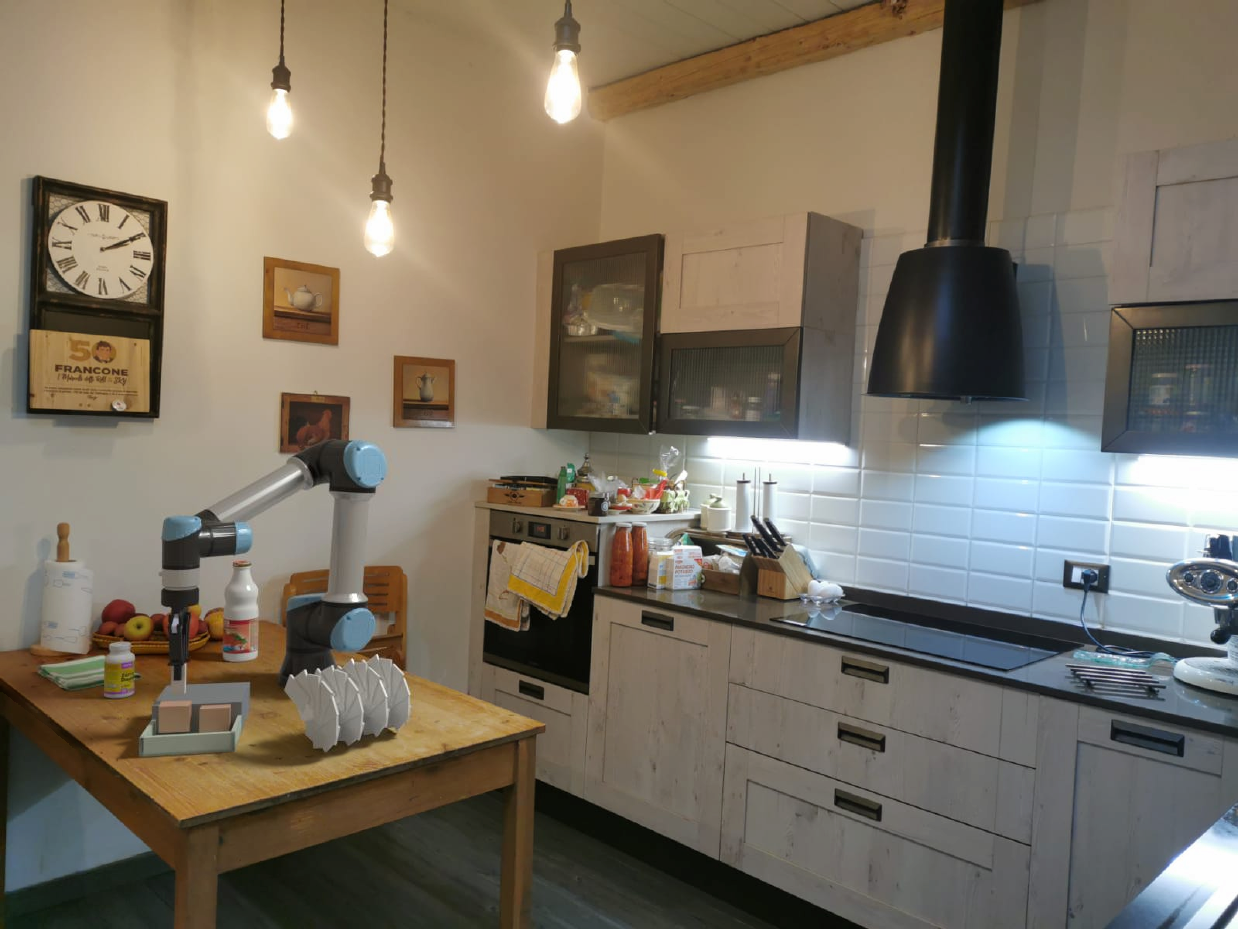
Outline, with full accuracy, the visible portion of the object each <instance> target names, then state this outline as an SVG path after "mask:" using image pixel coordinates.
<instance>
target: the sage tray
mask: <svg viewBox="0 0 1238 929" xmlns="http://www.w3.org/2000/svg"><path fill="white" fill-rule="evenodd" d="M241 718H242V715H238V716H237V718H236V721H235V723H234V725H233V728H232V730H231V731H228V732H210V733H184V734H166V735H156V720H152V719H151V720H150V722H149V723H148V724H147V726H146V728H145V729H144V730H143V732H142V734H141V735H140V737H139V738H138V739H139V740H138V758H152V757H164V756H165V757H169V756H182V755H184V756H185V755H197V754H198V755H201V754H216V753H217V754H218V753H228V752H229V753H234V752H235V751H236V748H237V746H238V742H239V740H240V738H241V734H242V732H241Z"/></svg>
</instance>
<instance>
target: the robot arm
mask: <svg viewBox="0 0 1238 929" xmlns="http://www.w3.org/2000/svg"><path fill="white" fill-rule="evenodd" d="M387 466H388V465H387V459H386V457H385V455H384V453H383V451H382V450H381V449H380V448H379V446H377V445H376V444H374V443H372V442H368V441H363V440H347V439H334V438H333V439H327V440H323V441H320V442H318V443H316V444H313V445H311V446H309V447H307V448H305V449H303V450H301V451H299V452H298V453H296V454H294V455H292V456H291V457H289V458H287V459H286V462H285V464H283V465H282V466H281V467H279V468H277V469H275V470H273V471H272V472H269V473H268V474H266V475H264V476H263V477H261V478H259V479H258V480H255V481H253V482H252V483H250V484H248V485H246V486H245V487H243V488H241V489H239V490H237V491H236V492H233V493H231V494H230V495H228V496H226V497H225V498H223V499H221V500H219V501H218V502H216V503H214V504H212V505H210V506H208V507H207V508H205V509H203V510H202V511H200V512H198V513H196V514H193V515H172V516H168V517H166V518H165V519H164V520H163V522H162V530H161V531H162V532H161V537H160V538H161V571H160V572H158V576H159V577H161V586H162V589H161V590H160V604H161V606H163V607H166V608H171V612H170V614H168V616H167V617H168V619H167V622H168V624H167V628H166V629H167V633H168V655H169V657H168V658H169V662H168V663H167V667H171V668H170V669H171V674H170V675H171V678H170V679H171V680H170V681H171V682H170V685H171V695H183V694H185V693H186V685H187V663H190V662H191V658H188V657H189V656H190V655H189V654H190V653H189V649H190V648H189V647H190V632H191V631H190V630H191V622H192V621H191V620H192V612H191V611H189V610H190V608H189V607H194V606H197V605H198V604H199V603H200V588H199V585H200V582H201V559H206V558H213V557H214V558H215V557H226V556H227V557H228V556H233V557H234V556H235V557H236V556H237V555H242V554H246V553H248V552H249V551H250V550H251V549H252V546H253V544H254V535H253V529H252V528H251V526H250V525H249V524H248V523H247V522H248V521H249V520H252V519H253V518H255V517H257V516H258V515H261V514H262V513H264V512H266V511H267V510H269V509H270V508H272V507H274V506H276V505H278V504H279V503H280V502H283V501H285V500H286V499H288V498H289V497H291V496H293V495H295V494H296V493H298V492H300V491H301V490H304V491H309V490H311V489H313V488H314V487H317V486H320V485H323V484H324V485H326V484H328V492H329V493H330V495H331V496H332V497H333V502H334V503H333V517H332V528H331V530H332V532H331V540H330V541H331V543H330V559H329V570H328V571H329V572H328V583H327V584H328V585H327V591H326V592H323V593H321V592H319V593H308V594H301V595H295V596H292V597H290V598H289V599H288V600H287V601H286V603H287V604H286V609H285V613H286V616H285V617H286V618H285V619H286V620H285V621H286V622H285V623H286V627H285V632H286V633H285V654H284V657H283V660H282V663H281V664H280V668H279V671H278V674H277V675H278V678H277V680H278V681H277V683H278V684H279V685H280V686H283V687H286V684H287V681H288V679H289V676H290V675H293V677H296V676H297V675H298V674H299V673H301V672H302V671H303V670H306V671H307V674H313V675H314V674H315V672H316V670H317V669H318V668H319V669H320V671H323V670H325V669H326V668H328V667H330V666H331V665H334V669H335V670H336V669H337V666H338V665H337V663H336V660H335V657H334V653H333V650H334V651H335V652H338V653H348V654H350V653H351V654H353V653H356V652H358V651H361V650H363V649H364V648H365V647H366V646H367V644H368V643H369V642H370V641H371V640H372V638H373V636H374V634H375V630H376V619H375V616H374V615H373V613H372V611H370V610H369V609H368V604H369V598H368V597H367V595H365V593H364V592H363V588H364V577H365V575H364V574H365V573H364V572H365V562H366V561H365V560H366V547H367V536H368V535H367V533H368V532H367V531H368V518H369V508H370V507H369V506H370V504H369V503H370V500H371V499H372V498H373V497H374V496H375V495H376V491H377V487H378V486H379V485H380V484H381V483H382V482H383V480H384V479H385V477H386V474H387V471H388V470H387V469H388V467H387Z"/></svg>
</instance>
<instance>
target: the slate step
mask: <svg viewBox="0 0 1238 929" xmlns="http://www.w3.org/2000/svg"><path fill="white" fill-rule="evenodd" d="M250 698H251V682H250V681H247V682H246V681H245V682H221V683H219V682H218V683H192V684H186V693H185V694H183V695H171V684H169V685H166V686H165V688H164V689H163V690H162V691H161V693H160V694H159V696H158V697H157V699H156V700H155V701H154V703H153V704H152V705H151V720H156V735H166V734H184V733H199V714H200V707H201V706H205V705H225V704H231V730H232V728H233V725H234V723H235V721H236V718H237V716H238V715H242V718H241V733H242V732H243V729H244V727H245V725H246V721H247V719H248V716H249V713H250V706H251V703H250V702H251V699H250ZM163 701H192V714H191V729H190V731H189V732H169V733H159V705H160V703H161V702H163Z"/></svg>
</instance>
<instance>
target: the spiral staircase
mask: <svg viewBox="0 0 1238 929" xmlns="http://www.w3.org/2000/svg"><path fill="white" fill-rule="evenodd" d="M404 676H405V673H404V672H403V671H402V670H401V668H399V667H398V666H397V665H396V664H395V663H393V659H390V658H389V659H388V658H382V657H381V658H380V657H379V655H378V653H377V654H375V655H373V656H372V657H371V658H369V660H367V661H366V660H365V659H362V660H361V662H355V660H354V658H350V659H349V661H347V662H346V663H345V664H344V666H342V667H341V666H340V665H337V669H336V670H335V669H334V665H331V666H330V667H328V668H326V669H325V670H323V671H320V669H319V668H318V669H317V670H316V672H315V674H314V675H313V674H307V671H306V670H303V671H302V672H301V673H299V674H298V675H297V676H296V677H293V675H290V676H289V679H288V681H287V684H286V686H284V689H283V690H284V693H286V695H287V696H288V698H290V700H291V701H292V703H294V705H295V706H296V707H297V713H298V716H299V719H300V721H302V722H304V724H305V730H304V731H305V732H304V735H305V736H306V737H307V738H308V739H309V740H310V741H311V742H312V748H313V749H323V751H324V753H328V751H330V749H331V748H332V747H333V746H337V744H338V742H345V743H346V745H347V747H350V746H351V745H352V744H354V743H355V742H356V741H361V737H362V735H364V736H367V735H370V734H374V736H375V737H376V738H377V737H379V735H380V734H381V732H383V730H384V729H390V728H394V729H395V731H396V732H399V731H400V730H401V728H403V726H404V725H405V724H409V721H410V717H411V716H410V715H411V713H412V709H413V706H412V705H411V695H412V694H411V691H410V688H409V686H408V682H407V680H406V677H404Z"/></svg>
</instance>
